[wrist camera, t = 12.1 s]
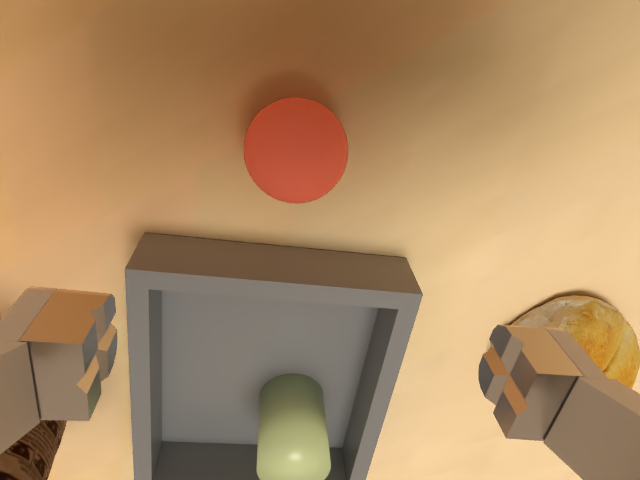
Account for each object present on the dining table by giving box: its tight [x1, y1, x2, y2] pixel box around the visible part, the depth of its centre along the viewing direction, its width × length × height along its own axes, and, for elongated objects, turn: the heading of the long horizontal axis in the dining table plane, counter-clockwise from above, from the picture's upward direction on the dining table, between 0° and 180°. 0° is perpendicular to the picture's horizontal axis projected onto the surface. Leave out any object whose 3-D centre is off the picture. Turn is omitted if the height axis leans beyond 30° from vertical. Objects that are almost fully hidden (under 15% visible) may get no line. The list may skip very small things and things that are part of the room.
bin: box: [125, 233, 423, 480], centre depth 28 cm, size 16×14×4 cm
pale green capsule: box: [257, 374, 331, 480], centre depth 28 cm, size 4×4×5 cm
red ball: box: [244, 97, 348, 203], centre depth 21 cm, size 4×4×4 cm
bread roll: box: [510, 295, 640, 389], centre depth 29 cm, size 8×9×4 cm
